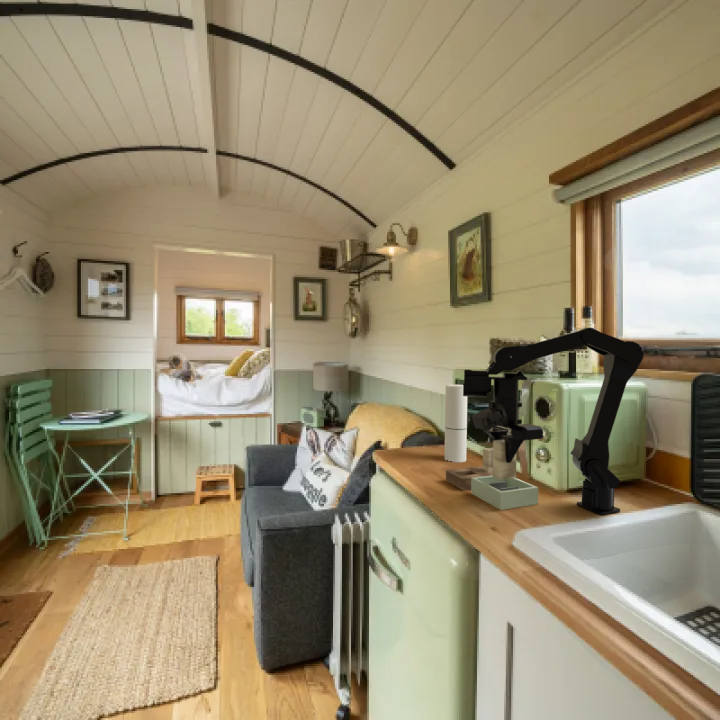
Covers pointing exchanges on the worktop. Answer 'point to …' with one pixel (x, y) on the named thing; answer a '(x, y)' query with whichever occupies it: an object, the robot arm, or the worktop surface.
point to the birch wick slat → (502, 462)
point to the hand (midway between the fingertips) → (504, 461)
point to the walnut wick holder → (465, 476)
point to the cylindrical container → (455, 424)
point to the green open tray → (504, 492)
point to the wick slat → (488, 460)
